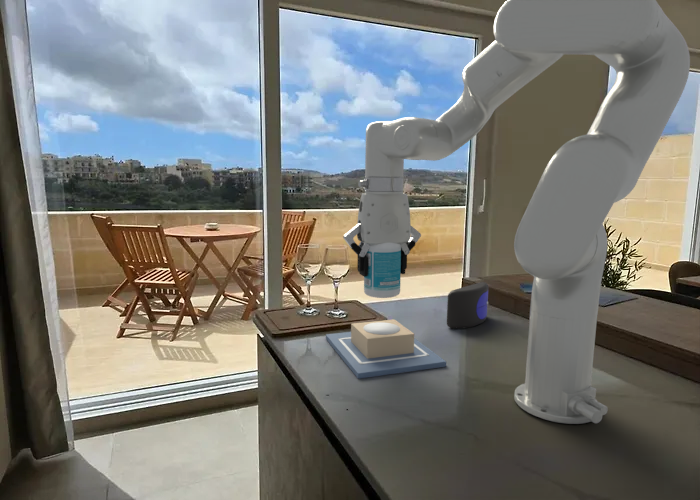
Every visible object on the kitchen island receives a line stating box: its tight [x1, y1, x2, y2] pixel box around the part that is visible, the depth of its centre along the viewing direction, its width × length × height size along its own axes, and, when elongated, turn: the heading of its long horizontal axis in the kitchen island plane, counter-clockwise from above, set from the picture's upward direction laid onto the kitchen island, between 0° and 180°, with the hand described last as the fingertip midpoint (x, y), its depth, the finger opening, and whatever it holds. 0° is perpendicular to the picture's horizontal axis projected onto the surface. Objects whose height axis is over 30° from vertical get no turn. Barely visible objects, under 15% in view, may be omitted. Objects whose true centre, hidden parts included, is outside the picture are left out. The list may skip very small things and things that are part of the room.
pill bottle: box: [363, 243, 402, 299], centre depth 95 cm, size 8×7×14 cm
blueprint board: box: [325, 319, 447, 380], centre depth 98 cm, size 22×18×5 cm
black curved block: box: [446, 281, 489, 330], centre depth 116 cm, size 16×5×9 cm, turn 134°
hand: (382, 273), depth 96 cm, fingers closed on pill bottle, 7 cm apart
